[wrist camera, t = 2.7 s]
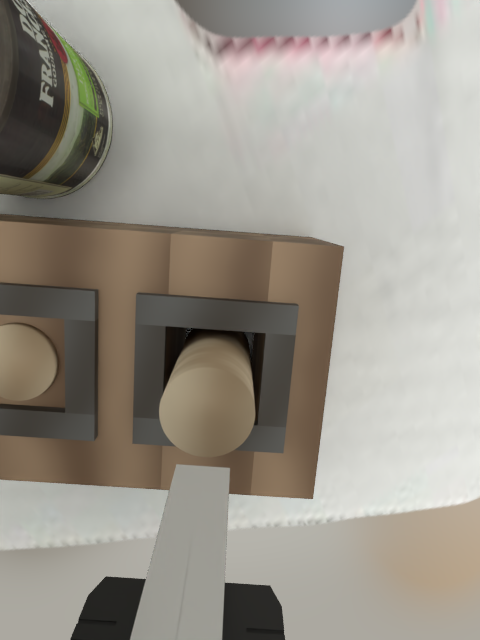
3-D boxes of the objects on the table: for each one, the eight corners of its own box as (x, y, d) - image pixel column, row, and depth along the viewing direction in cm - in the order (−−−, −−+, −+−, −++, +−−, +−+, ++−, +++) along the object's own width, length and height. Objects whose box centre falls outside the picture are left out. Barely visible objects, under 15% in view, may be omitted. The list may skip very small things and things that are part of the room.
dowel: (182, 379, 28) (157, 454, 19) (185, 316, 27) (160, 364, 18) (246, 384, 28) (251, 460, 19) (252, 321, 27) (259, 371, 19)
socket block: (4, 401, 35) (-94, 480, 24) (-4, 213, 32) (-120, 212, 21) (291, 420, 35) (314, 505, 25) (311, 237, 32) (346, 247, 22)
